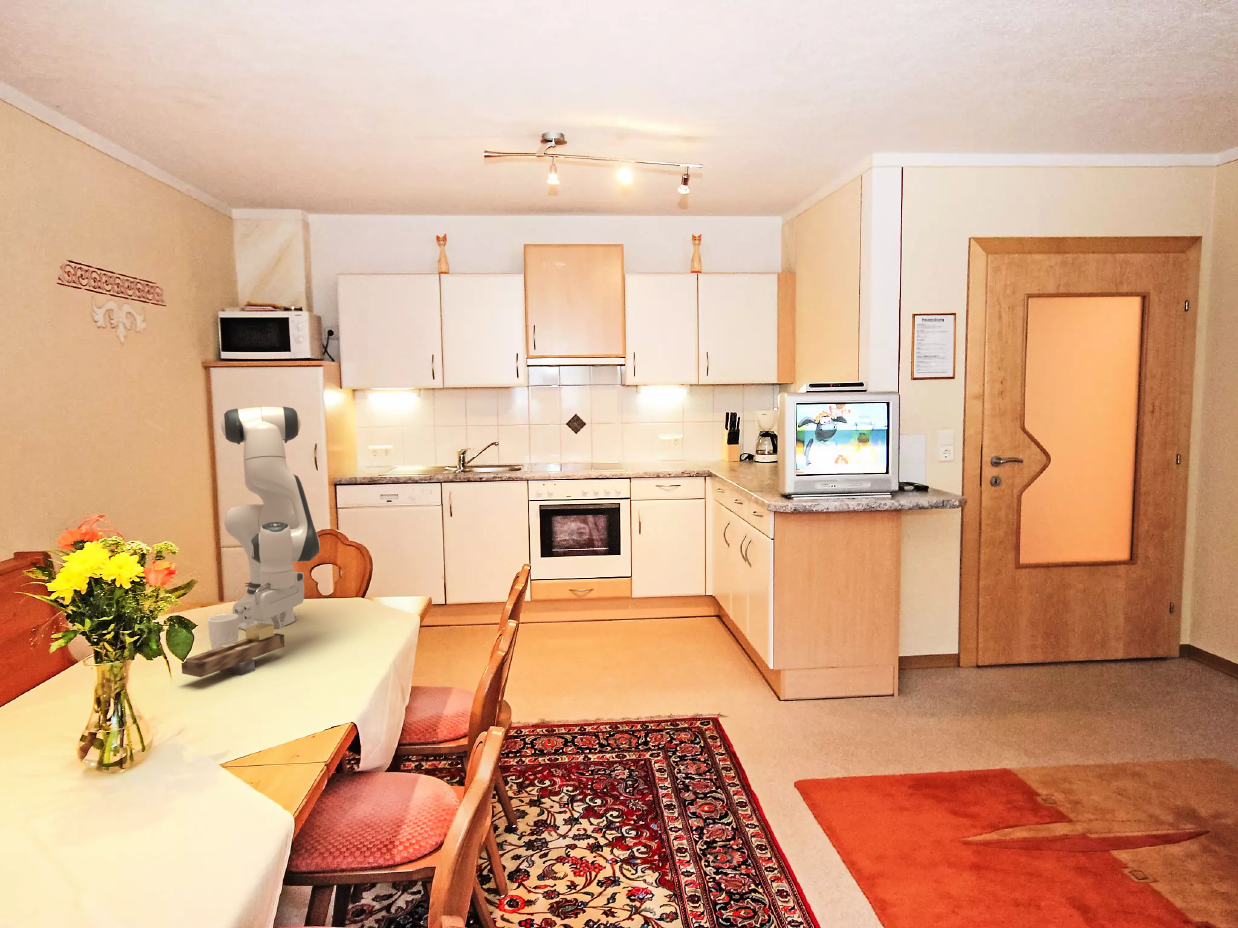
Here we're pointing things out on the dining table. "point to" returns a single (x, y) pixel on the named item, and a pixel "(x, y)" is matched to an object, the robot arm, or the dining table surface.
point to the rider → (259, 632)
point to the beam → (231, 657)
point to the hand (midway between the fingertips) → (279, 627)
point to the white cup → (223, 630)
